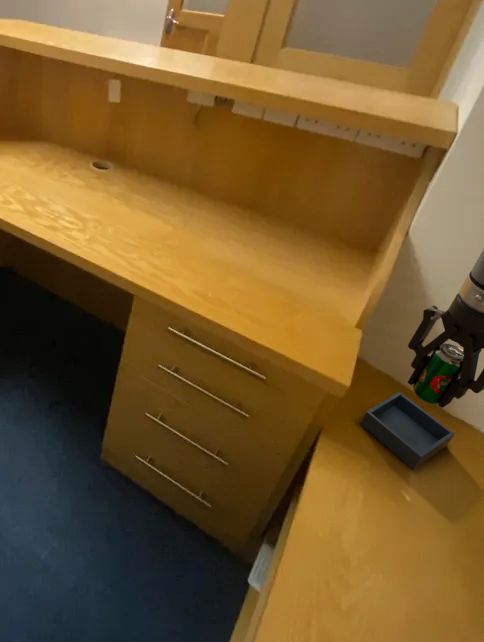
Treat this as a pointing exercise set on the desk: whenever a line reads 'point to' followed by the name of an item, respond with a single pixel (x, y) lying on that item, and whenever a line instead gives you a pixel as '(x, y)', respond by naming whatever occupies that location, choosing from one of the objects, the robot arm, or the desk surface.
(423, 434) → the tub
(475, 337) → the robot arm
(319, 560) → the desk surface
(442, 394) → the soda can
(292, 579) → the desk surface
